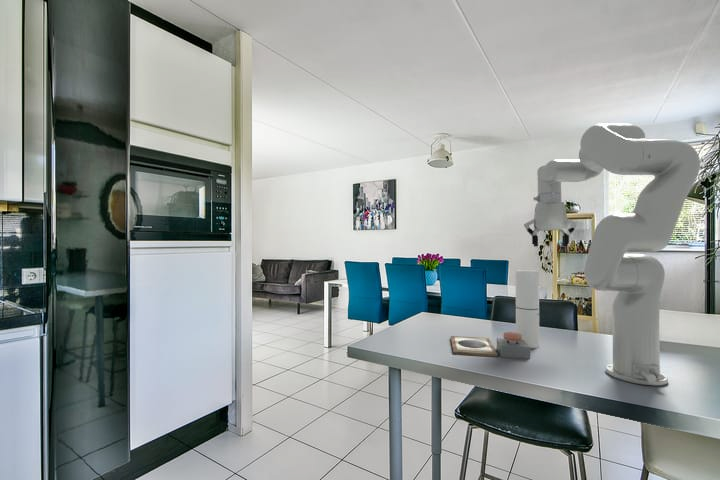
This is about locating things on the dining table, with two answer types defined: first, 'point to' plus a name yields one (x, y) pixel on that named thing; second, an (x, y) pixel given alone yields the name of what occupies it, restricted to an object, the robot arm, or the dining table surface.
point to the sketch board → (473, 346)
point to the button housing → (513, 349)
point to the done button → (512, 337)
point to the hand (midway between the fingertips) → (550, 246)
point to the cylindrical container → (527, 306)
